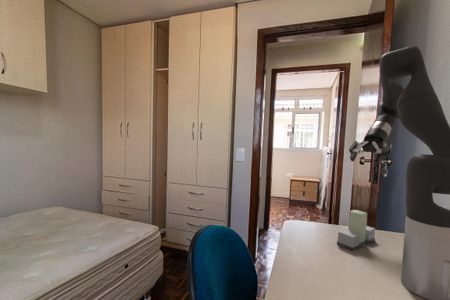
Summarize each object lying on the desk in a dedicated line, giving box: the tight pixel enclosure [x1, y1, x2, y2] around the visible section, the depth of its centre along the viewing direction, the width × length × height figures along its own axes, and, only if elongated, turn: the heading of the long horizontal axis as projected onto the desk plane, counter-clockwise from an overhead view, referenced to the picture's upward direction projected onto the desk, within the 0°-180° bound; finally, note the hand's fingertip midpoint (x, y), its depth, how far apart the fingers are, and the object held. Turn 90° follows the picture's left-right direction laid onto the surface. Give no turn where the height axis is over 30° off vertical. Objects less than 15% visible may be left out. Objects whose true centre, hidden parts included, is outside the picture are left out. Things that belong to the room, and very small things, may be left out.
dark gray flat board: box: [336, 237, 376, 252], centre depth 78 cm, size 6×16×1 cm, turn 124°
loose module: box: [347, 209, 368, 243], centre depth 78 cm, size 4×4×10 cm
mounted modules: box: [337, 225, 376, 248], centre depth 78 cm, size 5×16×4 cm, turn 124°
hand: (362, 161), depth 87 cm, fingers open, 8 cm apart
